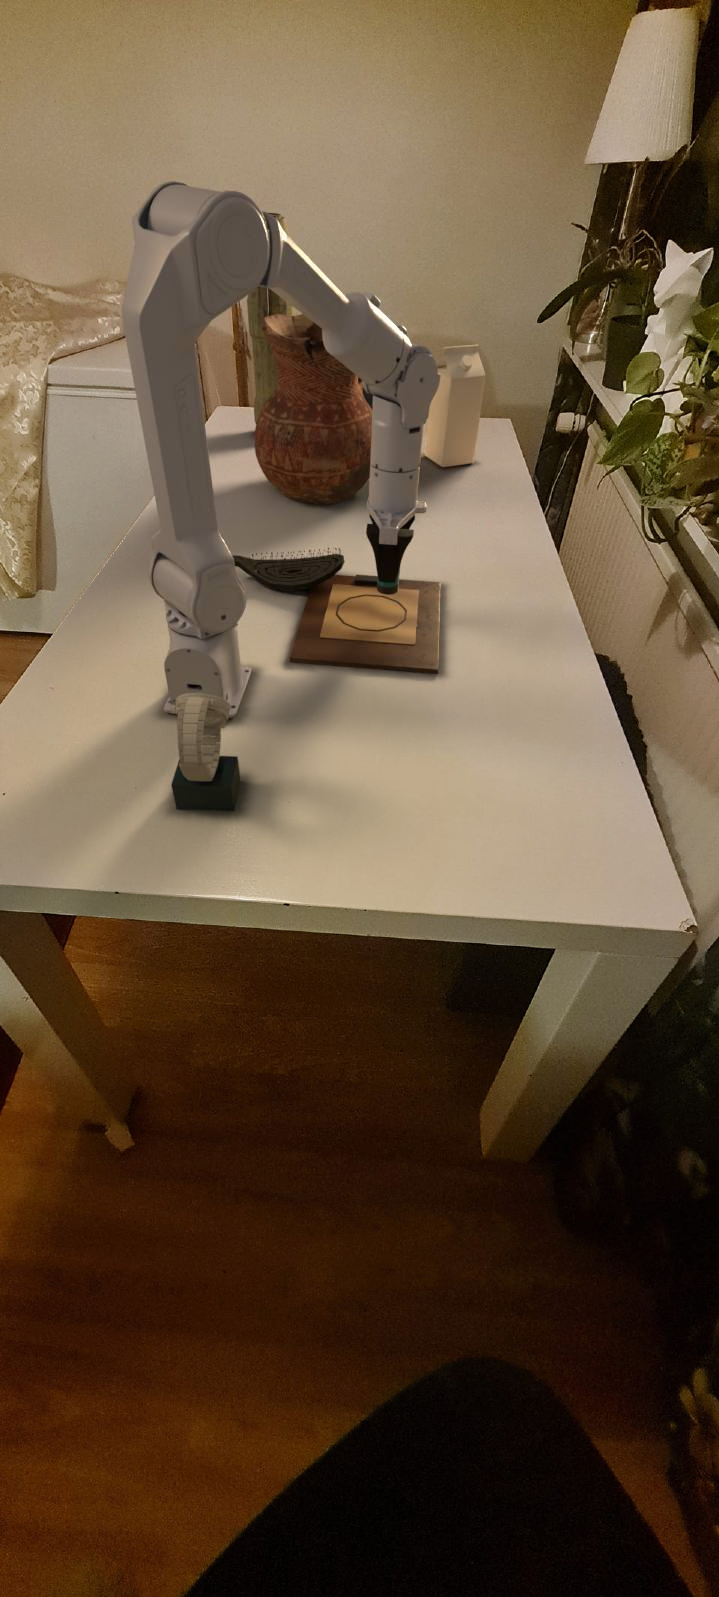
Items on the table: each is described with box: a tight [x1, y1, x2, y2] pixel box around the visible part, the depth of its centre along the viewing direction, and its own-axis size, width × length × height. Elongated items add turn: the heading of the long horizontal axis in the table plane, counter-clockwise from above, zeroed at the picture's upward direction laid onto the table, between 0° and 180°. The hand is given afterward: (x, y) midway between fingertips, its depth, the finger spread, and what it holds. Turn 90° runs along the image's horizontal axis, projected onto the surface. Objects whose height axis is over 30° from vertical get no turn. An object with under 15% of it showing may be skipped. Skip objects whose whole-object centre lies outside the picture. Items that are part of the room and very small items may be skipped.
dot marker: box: [376, 568, 401, 595], centre depth 89 cm, size 3×3×7 cm
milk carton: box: [423, 344, 486, 468], centre depth 131 cm, size 7×7×19 cm
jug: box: [254, 313, 372, 505], centre depth 116 cm, size 22×21×25 cm
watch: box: [170, 693, 241, 812], centre depth 65 cm, size 6×8×11 cm
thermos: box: [246, 212, 297, 424], centre depth 132 cm, size 9×12×35 cm
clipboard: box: [288, 574, 441, 674], centre depth 93 cm, size 22×18×1 cm
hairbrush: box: [232, 547, 346, 592], centre depth 99 cm, size 8×4×25 cm
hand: (387, 574), depth 90 cm, fingers closed on dot marker, 3 cm apart
